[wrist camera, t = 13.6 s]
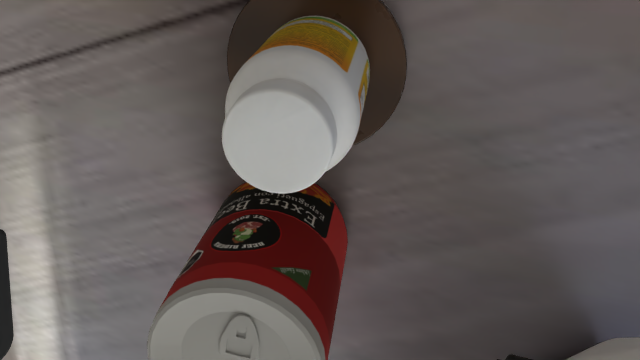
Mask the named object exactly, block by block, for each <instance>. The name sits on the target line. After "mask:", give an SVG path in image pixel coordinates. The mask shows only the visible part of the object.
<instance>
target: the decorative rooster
mask: <svg viewBox="0 0 640 360" xmlns="http://www.w3.org/2000/svg"><path fill="white" fill-rule="evenodd" d="M566 360H640V337H636V338H635V337H633V338H613V339H609V340H607V341H604V342H601V343H599V344H597V345H595V346H593V347H591V348H588V349H586V350H584V351H582V352H580V353H578V354H576V355H574V356H572V357H570V358H568V359H566Z"/></svg>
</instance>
